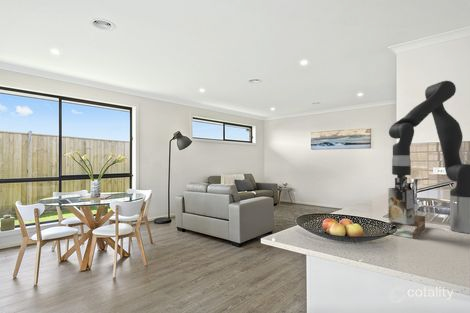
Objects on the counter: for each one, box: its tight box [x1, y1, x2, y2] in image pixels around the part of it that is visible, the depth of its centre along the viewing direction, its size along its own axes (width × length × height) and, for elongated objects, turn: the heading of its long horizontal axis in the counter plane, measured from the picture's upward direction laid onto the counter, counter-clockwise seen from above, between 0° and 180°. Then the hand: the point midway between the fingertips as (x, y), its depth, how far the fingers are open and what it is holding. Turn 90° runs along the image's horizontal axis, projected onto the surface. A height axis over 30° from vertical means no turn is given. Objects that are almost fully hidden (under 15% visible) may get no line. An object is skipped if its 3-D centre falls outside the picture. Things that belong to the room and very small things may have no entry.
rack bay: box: [388, 214, 426, 240], centre depth 127 cm, size 13×27×6 cm, turn 136°
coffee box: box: [387, 187, 415, 226], centre depth 122 cm, size 9×6×16 cm
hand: (401, 198), depth 122 cm, fingers closed on coffee box, 8 cm apart
